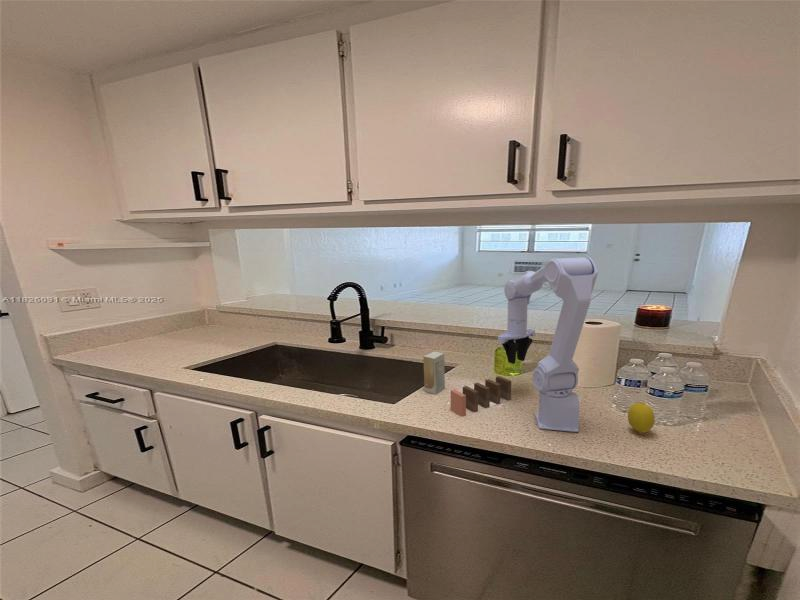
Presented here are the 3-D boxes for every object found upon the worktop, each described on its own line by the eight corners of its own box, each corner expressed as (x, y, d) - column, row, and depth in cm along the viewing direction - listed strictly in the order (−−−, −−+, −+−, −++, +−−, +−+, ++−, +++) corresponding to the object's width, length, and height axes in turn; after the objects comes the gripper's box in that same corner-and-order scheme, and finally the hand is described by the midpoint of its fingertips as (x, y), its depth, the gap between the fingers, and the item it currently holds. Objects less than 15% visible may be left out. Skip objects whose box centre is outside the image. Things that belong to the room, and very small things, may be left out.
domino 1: (454, 408, 106) (454, 389, 105) (465, 415, 102) (465, 395, 101) (450, 410, 106) (450, 390, 105) (462, 416, 101) (462, 396, 100)
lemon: (621, 427, 93) (623, 398, 92) (642, 426, 93) (644, 397, 92) (637, 439, 88) (639, 408, 86) (658, 437, 88) (661, 406, 87)
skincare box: (434, 385, 124) (433, 350, 122) (445, 388, 121) (445, 352, 119) (423, 391, 119) (422, 355, 117) (434, 394, 116) (433, 358, 114)
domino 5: (498, 394, 115) (499, 376, 114) (511, 399, 111) (511, 380, 110) (495, 395, 115) (495, 376, 114) (507, 400, 110) (508, 382, 109)
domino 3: (477, 401, 111) (477, 382, 110) (489, 407, 107) (489, 387, 106) (474, 402, 110) (474, 383, 109) (485, 408, 106) (486, 389, 105)
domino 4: (488, 397, 113) (488, 379, 112) (500, 403, 109) (500, 384, 108) (485, 398, 112) (485, 380, 111) (497, 404, 108) (497, 385, 107)
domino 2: (466, 404, 109) (466, 385, 108) (477, 411, 104) (478, 391, 103) (462, 406, 108) (462, 386, 107) (474, 412, 104) (474, 392, 103)
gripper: (522, 314, 119) (521, 354, 121) (490, 320, 112) (490, 362, 114) (541, 317, 113) (539, 359, 115) (508, 324, 106) (507, 369, 108)
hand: (516, 361), depth 114 cm, fingers open, 4 cm apart
